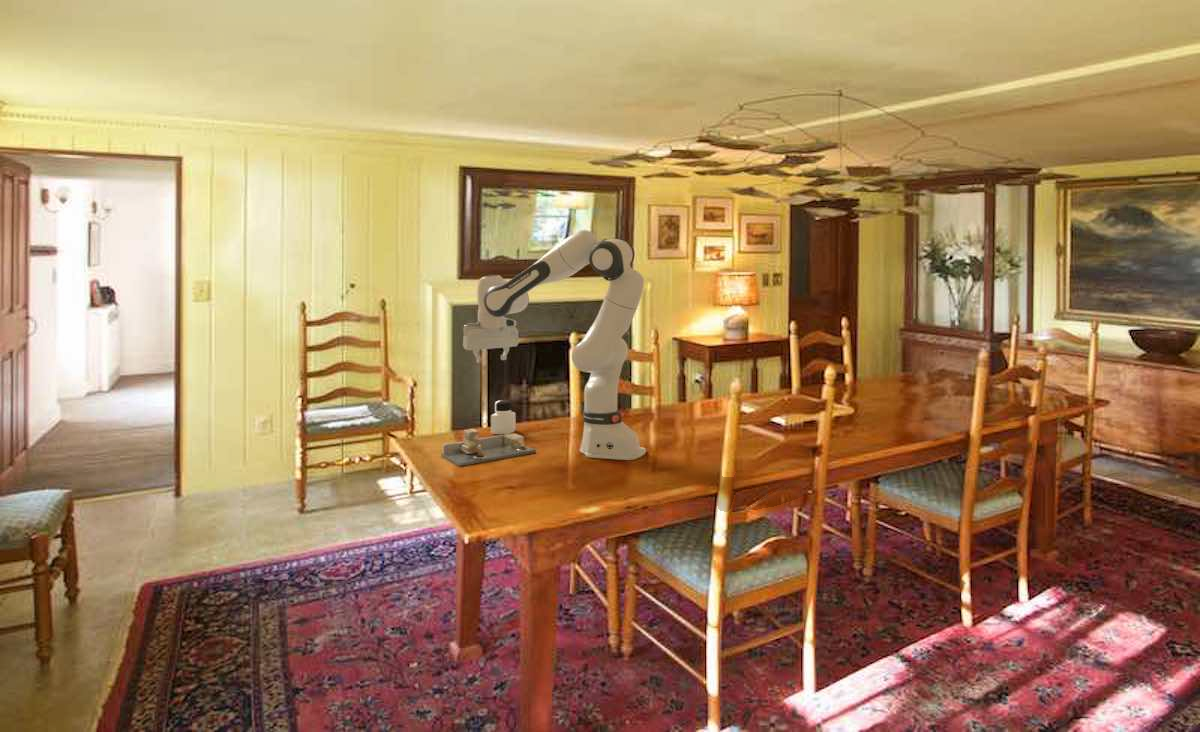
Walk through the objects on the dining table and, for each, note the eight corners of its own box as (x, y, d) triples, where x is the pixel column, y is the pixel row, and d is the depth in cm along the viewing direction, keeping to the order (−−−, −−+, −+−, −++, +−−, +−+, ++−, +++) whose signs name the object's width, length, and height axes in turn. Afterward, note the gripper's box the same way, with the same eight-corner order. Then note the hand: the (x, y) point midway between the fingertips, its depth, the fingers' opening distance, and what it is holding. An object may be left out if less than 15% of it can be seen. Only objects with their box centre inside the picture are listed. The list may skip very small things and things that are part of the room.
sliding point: (474, 448, 253) (474, 428, 251) (487, 454, 245) (487, 434, 244) (461, 450, 250) (460, 430, 249) (473, 457, 242) (473, 436, 241)
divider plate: (515, 443, 263) (515, 432, 263) (535, 452, 252) (535, 441, 251) (441, 456, 248) (440, 444, 247) (459, 466, 236) (458, 454, 236)
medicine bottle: (516, 430, 282) (515, 399, 280) (508, 435, 275) (508, 403, 274) (498, 429, 284) (497, 398, 282) (490, 433, 277) (490, 402, 275)
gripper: (467, 324, 251) (468, 364, 253) (520, 320, 263) (521, 359, 265) (459, 322, 256) (460, 362, 259) (512, 319, 268) (512, 357, 270)
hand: (491, 361), depth 262 cm, fingers open, 8 cm apart
